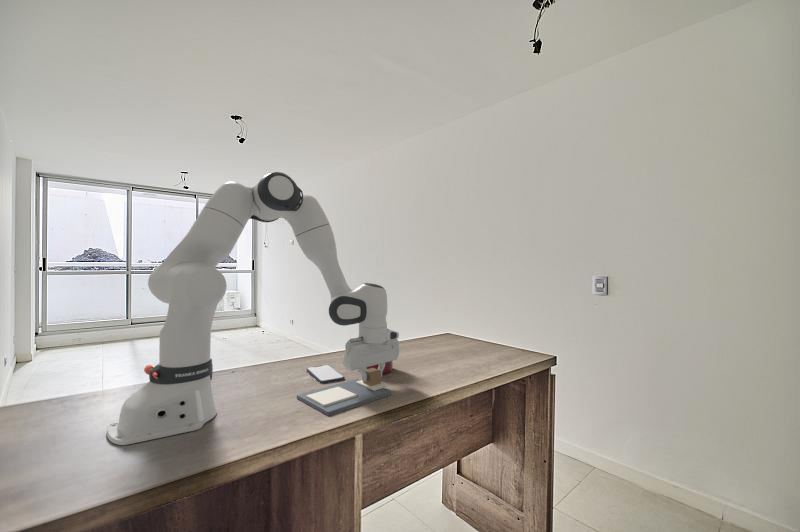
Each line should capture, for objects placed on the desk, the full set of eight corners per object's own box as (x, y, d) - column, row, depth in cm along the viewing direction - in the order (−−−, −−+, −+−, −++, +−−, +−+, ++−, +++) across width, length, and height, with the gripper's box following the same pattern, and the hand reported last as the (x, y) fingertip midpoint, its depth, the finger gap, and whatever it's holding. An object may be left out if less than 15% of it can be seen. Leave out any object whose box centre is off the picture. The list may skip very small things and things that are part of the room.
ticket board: (328, 415, 96) (328, 409, 96) (296, 398, 107) (296, 392, 107) (390, 394, 111) (390, 389, 111) (357, 381, 122) (357, 376, 122)
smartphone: (346, 381, 124) (328, 368, 138) (346, 377, 124) (328, 364, 138) (320, 386, 119) (305, 372, 133) (320, 381, 119) (305, 367, 133)
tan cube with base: (374, 390, 111) (374, 375, 111) (355, 383, 117) (355, 369, 117) (388, 386, 115) (389, 371, 115) (370, 379, 122) (370, 365, 122)
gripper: (352, 341, 107) (351, 389, 107) (402, 332, 121) (401, 374, 121) (339, 337, 111) (338, 383, 111) (389, 329, 125) (388, 370, 126)
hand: (372, 378), depth 116 cm, fingers closed on tan cube with base, 4 cm apart
